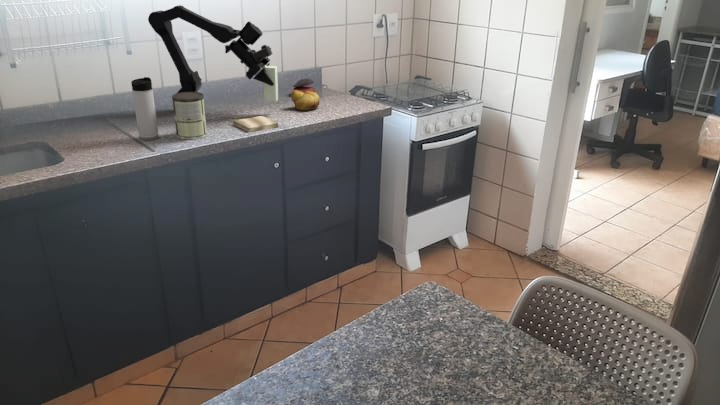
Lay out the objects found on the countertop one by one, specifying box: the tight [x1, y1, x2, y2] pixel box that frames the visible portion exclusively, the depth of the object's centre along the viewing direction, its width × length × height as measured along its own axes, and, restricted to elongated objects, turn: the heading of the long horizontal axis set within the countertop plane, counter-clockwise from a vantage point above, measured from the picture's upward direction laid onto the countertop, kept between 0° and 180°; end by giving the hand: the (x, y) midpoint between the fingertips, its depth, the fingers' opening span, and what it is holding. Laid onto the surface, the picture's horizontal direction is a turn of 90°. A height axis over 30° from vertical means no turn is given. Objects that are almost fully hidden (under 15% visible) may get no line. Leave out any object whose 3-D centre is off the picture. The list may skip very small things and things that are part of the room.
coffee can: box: [171, 91, 208, 140], centre depth 186 cm, size 10×10×14 cm
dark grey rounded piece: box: [292, 78, 316, 93], centre depth 248 cm, size 11×10×10 cm
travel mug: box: [131, 76, 160, 142], centre depth 181 cm, size 6×7×20 cm
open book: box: [233, 115, 279, 133], centre depth 202 cm, size 12×12×2 cm
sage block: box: [263, 65, 279, 103], centre depth 211 cm, size 4×4×13 cm
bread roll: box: [290, 89, 321, 112], centre depth 226 cm, size 13×10×8 cm
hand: (274, 83), depth 211 cm, fingers closed on sage block, 4 cm apart
